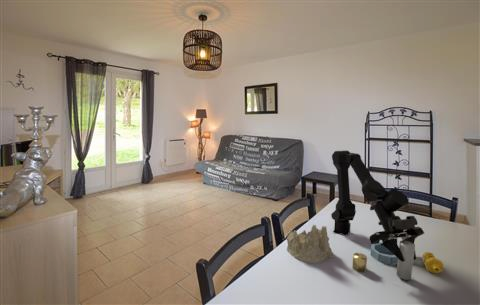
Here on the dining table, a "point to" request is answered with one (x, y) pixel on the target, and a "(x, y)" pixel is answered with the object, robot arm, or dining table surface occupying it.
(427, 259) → the pressure relief valve
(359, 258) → the short brass cylinder
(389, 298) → the dining table surface
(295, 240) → the jagged beige rock
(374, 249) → the collar
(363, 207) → the dining table surface
